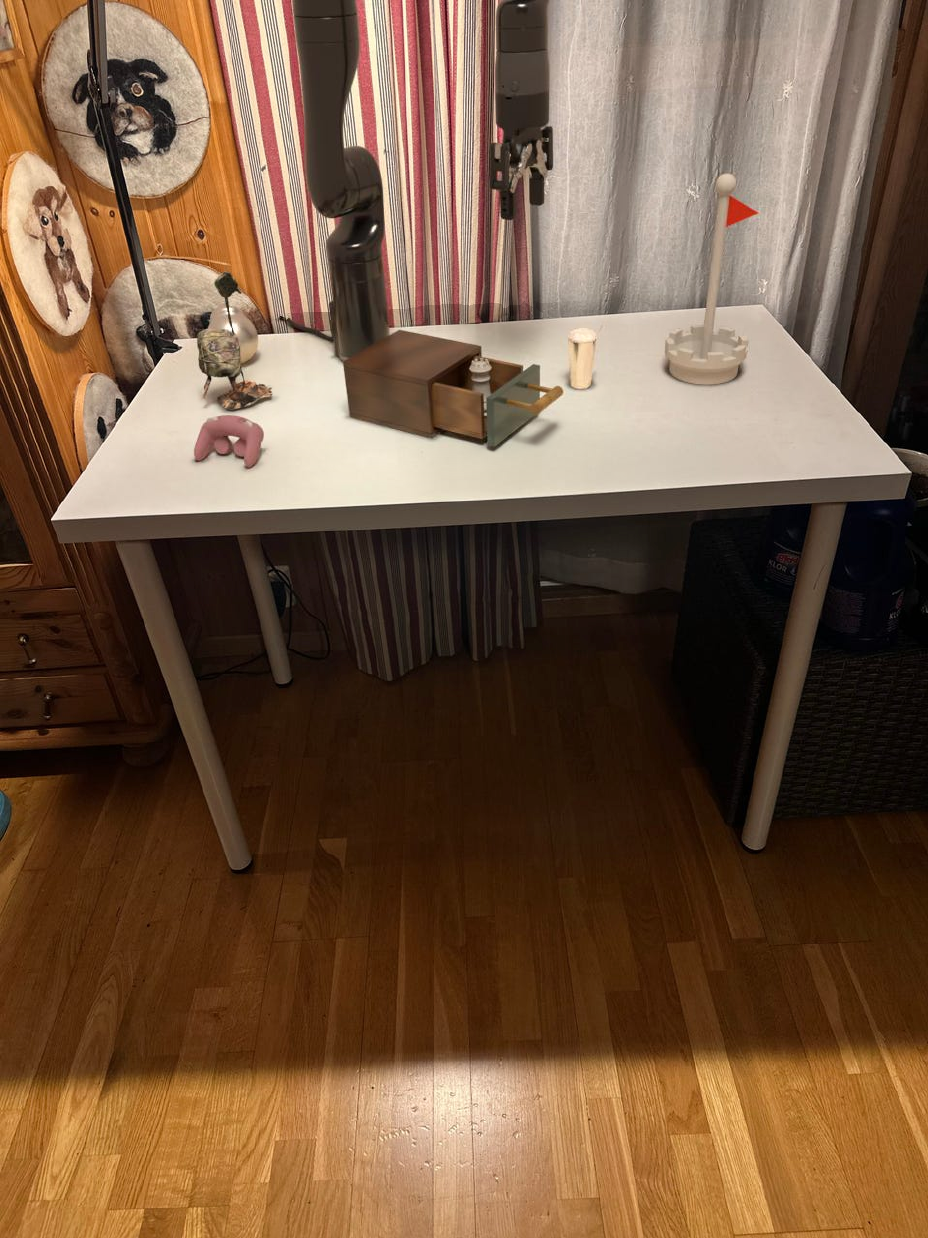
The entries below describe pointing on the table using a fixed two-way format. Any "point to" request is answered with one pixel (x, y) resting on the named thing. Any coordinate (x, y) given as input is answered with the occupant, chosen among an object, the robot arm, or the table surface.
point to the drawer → (490, 400)
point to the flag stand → (711, 312)
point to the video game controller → (218, 434)
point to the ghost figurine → (236, 329)
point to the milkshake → (581, 356)
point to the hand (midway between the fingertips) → (522, 211)
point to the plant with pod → (227, 356)
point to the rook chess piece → (481, 379)
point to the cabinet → (402, 379)
